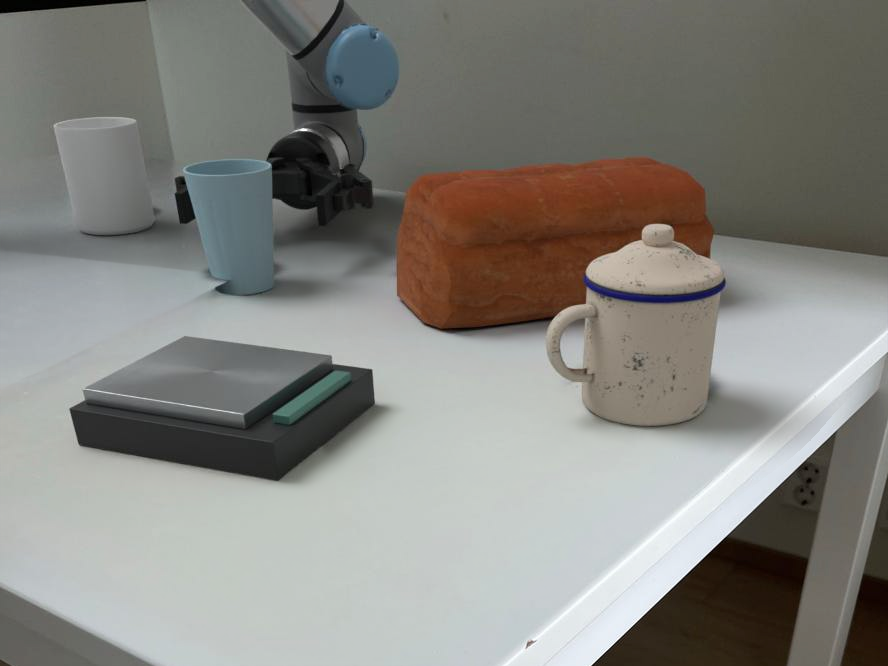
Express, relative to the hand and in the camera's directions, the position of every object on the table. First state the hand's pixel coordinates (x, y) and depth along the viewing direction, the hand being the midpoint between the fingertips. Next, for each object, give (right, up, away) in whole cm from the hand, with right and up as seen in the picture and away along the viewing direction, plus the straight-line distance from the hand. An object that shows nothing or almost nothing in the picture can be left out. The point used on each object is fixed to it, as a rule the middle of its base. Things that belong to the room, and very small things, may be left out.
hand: (250, 209), depth 94 cm
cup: (0, -8, 0) cm, 8 cm away
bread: (+28, -10, -3) cm, 30 cm away
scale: (+5, -26, -27) cm, 37 cm away
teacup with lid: (+32, -25, -25) cm, 47 cm away
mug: (-20, +7, +21) cm, 30 cm away
